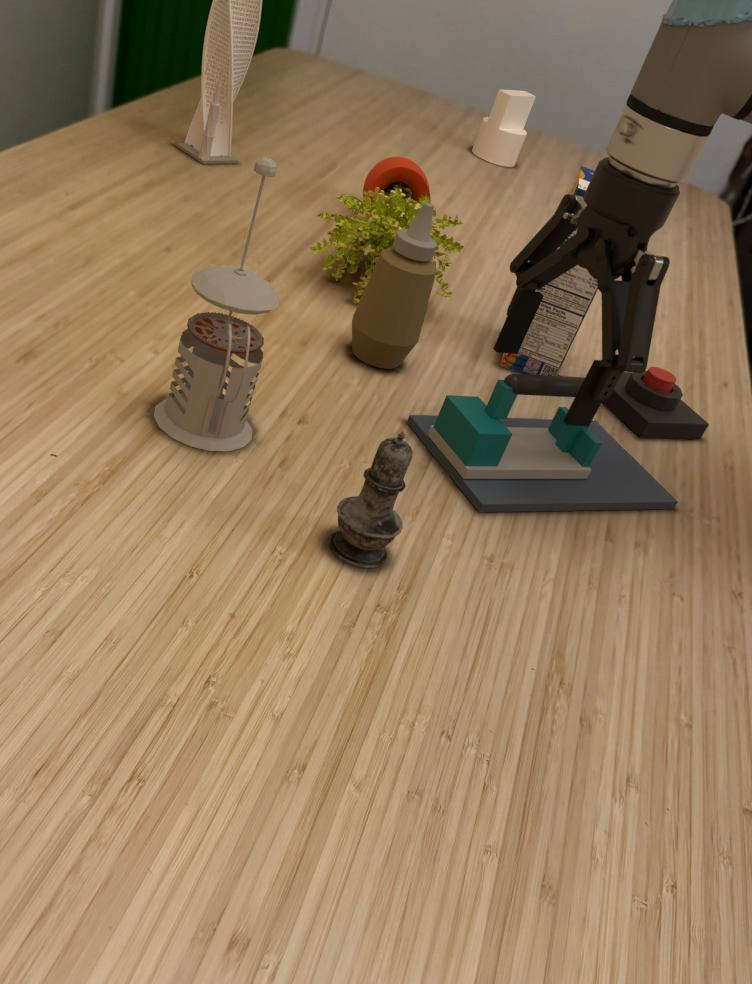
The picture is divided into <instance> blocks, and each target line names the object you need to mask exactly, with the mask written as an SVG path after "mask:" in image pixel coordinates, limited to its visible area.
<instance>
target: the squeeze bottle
mask: <svg viewBox="0 0 752 984" xmlns="http://www.w3.org/2000/svg"><path fill="white" fill-rule="evenodd" d="M433 210H435V205H434V204H433V203H431V202H430V203H428V202H424V203H423V205H422V206H421V208H420V210H419V212H418V213H417V215H416V217H415V218H414V220H413V222H412V223H411V225H410V227H409V229H401V230H398V231H397V233H396V236H395V239H394V242H393V246H392V247H389V248H387V249H385V250H383V251H382V252H381V254H380V256H379V258H378V261H377V263H376V262H375V264H374V266H373V267H374V269H373V271H371V272H372V273H371V277H370V279H369V281H368V283H367V286H366V285H365V286H366V288H364V289H363V290H364V292H363V293H362V295H361V297H360V302H359V303H357V306H356V308H355V311H354V312H353V315H352V318H351V319H352V320H351V351H352V353H353V355H354V356H355V357H357V359H358V360H360V361H362V362H364V363H366V364H367V365H369V366H372V367H376V368H379V369H386V370H390V369H396V368H398V367H399V366H401V364H402V363H403V361H404V360H405V359H406V358H407V357H408V355H409V354H410V353H411V352H412V350H413V349H414V348H415V347H416V345H417V344H418V343H419V341H420V340H419V339H420V335H421V332H422V328H423V325H424V321H425V317H426V313H427V309H428V307H429V302H430V298H431V294H432V290H433V286H434V284H435V283H434V282H435V280H436V276H437V275H436V272H437V271H436V270H437V267H436V266H437V265H436V266H435V265H434V263H433V260H432V259H434V253H435V250H436V247H437V243H436V242H435V240H434V239H432V238H431V237H430V231H431V224H432V223H433V222H432V220H433V218H434V216H433ZM436 251H437V250H436Z"/></svg>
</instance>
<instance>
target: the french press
mask: <svg viewBox="0 0 752 984" xmlns="http://www.w3.org/2000/svg"><path fill="white" fill-rule="evenodd" d="M253 171H254V172H255V173H256V174H258V175H259V176H261V180H260V183H259V184H260V185H259V189H258V191H257V192H258V193H257V197H256V200H255V205H254V209H253V214H252V218H251V221H250V226H249V230H248V233H247V238H246V242H245V246H244V251H243V254H242V259H241V263H240V266H237V265H236V266H235V265H231V264H221V265H210V266H207V267H204V268H201V269H199V270H197V271H196V272H194V273H192V274H191V279H190V284H191V287H192V288H193V290H194V292H195V293H196V295H197V296H199V297H200V298H201V299H203V300H204V301H206V302H207V303H209V304H211V305H213V306H215V307H217V308H219V309H221V310H225V311H229V313H228V314H227V313H225V314H224V313H223V312H216V311H211V312H210V311H205V312H200V313H199V312H197V313H195V314H194V315H192V316H190V317H189V318H188V319H187V323H186V326H187V328H186V329H185V330H184V331H182V332H181V335H180V339H179V343H178V347H177V353H178V354H179V355H180V356H177V357H175V361H174V365H175V366H176V367H177V368H175V369H173V370H172V375H171V377H172V378H173V380H172V381H170V385H169V390H170V391H171V392H170V393H168V394H167V397H166V398H165V399H163V400H162V401H160V402H159V403H158V404H156V405H155V407H154V413H153V418H154V420H155V422H156V425H157V426H158V428H159V429H161V430H162V431H163V432H164V433H165V434H167V435H168V436H169V437H170V438H172V439H173V440H175V441H178V442H179V443H182V444H184V445H186V446H188V447H191V448H194V449H195V448H196V449H200V450H204V451H207V452H231V451H235V450H239V449H243V448H244V447H246V446H247V445H248V444H249V443H251V441H252V440H253V428H252V427H251V425H250V423H249V422H248V416H249V413H250V406H251V405H252V401H253V395H254V393H255V390H256V383H257V382H258V379H259V375H260V373H259V371H260V370H261V367H262V364H263V361H264V352H263V350H262V349H261V348H262V347H263V346H264V341H265V337H264V336H263V335H262V333H261V331H260V330H259V329H258V328H257V327H255V326H254V325H252V324H251V323H250V321H249V322H247V321H244V319H241V317H240V318H237V316H236V317H235V315H233V313H235V314H240V315H252V316H258V315H263V314H266V313H268V314H269V313H270V312H271V311H273V310H274V309H275V308H277V307H279V306H280V305H281V296H280V295H279V293H278V292H277V291H276V289H275V288H274V286H272V284H271V283H270V282H268V281H267V280H265V279H264V278H263V277H261V276H259V275H258V274H257V273H255V272H254V271H252V270H250V269H248V268H244V266H245V262H246V257H247V254H248V249H249V246H250V241H251V236H252V233H253V229H254V225H255V221H256V218H257V213H258V209H259V205H260V201H261V197H262V192H263V187H264V184H265V179H266V177H268V178H276V175H277V163H276V161H275V160H273V159H271V158H270V157H265V156H264V157H262V156H261V157H260V158H258V159H257V160H256V162H255V163H254V167H253ZM190 348H192V352H191V351H190V350H189V349H190ZM232 355H235V356H237V357H238V358H240V359H241V360H243V361H244V364H243V365H241V364H239V363H238V362H236V361H235V360H234V359H233V358H232ZM184 362H185V363H186V364H187V365H183V363H184ZM248 363H250V364H255V365H251V366H248ZM229 367H231V370H229ZM180 375H182V376H183V377H180ZM254 378H255V380H254V381H252V380H253V379H254ZM226 379H228V382H226ZM177 387H179V388H180V389H177ZM224 390H225V394H224V393H223V391H224ZM251 390H252V391H251ZM250 392H251V393H250ZM247 404H248V405H247Z"/></svg>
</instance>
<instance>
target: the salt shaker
mask: <svg viewBox="0 0 752 984" xmlns="http://www.w3.org/2000/svg"><path fill="white" fill-rule="evenodd" d="M396 435H397V437H387V438H385V439H383V440H382V441H381V442H380V443H379V444H378V447H377V449H376V453H375V455H374V457H373V460H372V463H371V466H370V467H368V468H366V469H365V470H364V472H363V479H364V482H363V485H362V487H361V490H360V492H359V494H358V495H356V496H355V495H354V496H352V495H351V496H348V497H345V498H343V499H341V500H340V501H339V502H338V504H337V509H336V512H337V525H338V530H336V531H335V532H333V533H332V534H331V535H330V537H329V539H328V545H329V548H330V551H332V553H333V554H334V555H335V556H336V557H337V558H338V559H340V560H341V561H342V562H344V563H346V564H348V565H350V566H354V567H357V568H359V569H360V568H361V569H376V568H378V567H381V566H383V565H384V564H385V563H386V561H387V559H388V554H387V551H386V548H385V547H387V546H388V545H389V544H390V543H392V541H394V540H395V537H397V536H399V535H400V534H401V532H402V531H403V529H404V523H403V520H402V518H401V516H400V515H399V514H398V512H397V511H396V510H395V509H394V508H395V503H396V501H397V498H398V497H399V495H400V494H399V493H401V492H403V491H404V490H405V489H406V482H405V480H404V478H405V476H406V473H407V471H408V468H409V467H410V464H411V461H412V459H413V454H414V453H413V450H412V447H411V446H410V445H409V444H408V443H407V441H405V439H406V434H405V432H404V431H401V432H399V433H398V434H396Z"/></svg>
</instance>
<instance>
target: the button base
mask: <svg viewBox="0 0 752 984" xmlns="http://www.w3.org/2000/svg"><path fill="white" fill-rule="evenodd" d="M647 371H648V370H645V371H644V372H642V373H637V372H623V373H622V375H621V377H620V379H619V381H618V382H617V384H616V386H615V387H614V390H613V391H612V394H611V396H610V397H609V398H608V399H607V400H606V401H602V403H603V404H604V405H605V406H606V407H607V408H608V409H609V410H610V411H611V412H612V413H613V414H614V415H615V416H616V417H618V419H620V420H621V421H622V422H623V423H624V424H625V425H626V426H627V427H628V428H629V429H630V430H631V431H632V432H633V433H634V434H635V435H636V436H637V437H638V438H639V439H667V440H668V439H669V440H670V439H673V440H677V439H678V440H701V439H702V437H703V435H704V434H705V432H706V431H707V429H708V427H709V425H710V423H709V422H708V421H706V420H705V419H704V418H703V416H701V415H700V414H698V413H697V412H696V411H695V410H694V409H693V408H691V407H690V406H689V405H688V404H687V403H685V401H683V400H682V398H683V397H684V394H683V391H682V389H681V387H680V386H679V385H677V384H676V383H675V384H674V386H673V388H672V389H671V391H670V393H663V392H660V391H657V390H655V389H653V388H651V387H649V386H647V385H646V384H645V383H644V382H643V381H642V380H643V378H644V376H645V374H646V373H647Z"/></svg>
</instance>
